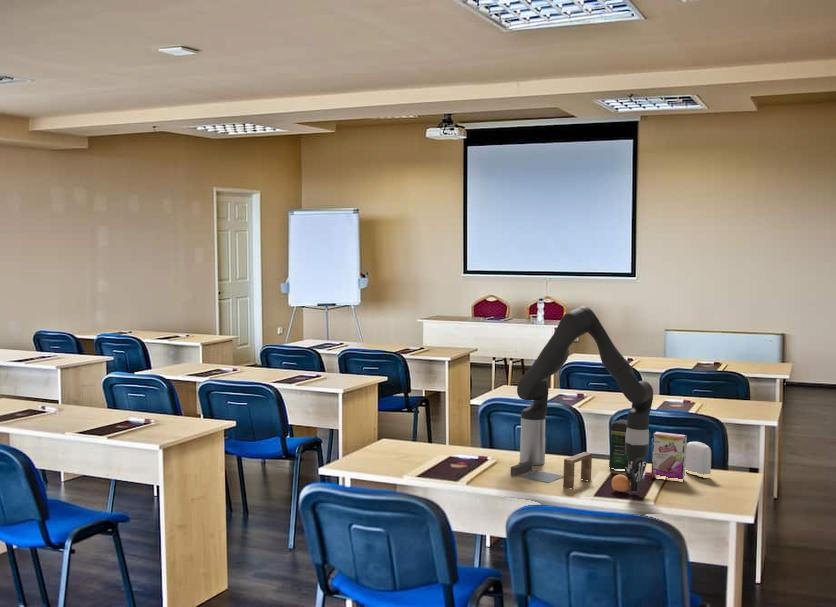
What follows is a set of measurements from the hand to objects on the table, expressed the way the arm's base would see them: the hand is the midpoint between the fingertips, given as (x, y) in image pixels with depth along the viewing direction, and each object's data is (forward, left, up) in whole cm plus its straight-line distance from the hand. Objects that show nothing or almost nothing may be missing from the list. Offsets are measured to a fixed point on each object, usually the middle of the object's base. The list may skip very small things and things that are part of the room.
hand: (634, 492), depth 287 cm
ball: (+1, -5, +2) cm, 5 cm away
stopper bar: (+1, -43, -1) cm, 43 cm away
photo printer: (-40, +7, -1) cm, 41 cm away
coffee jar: (-29, -18, -1) cm, 34 cm away
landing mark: (+1, -35, -1) cm, 35 cm away
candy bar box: (-27, +1, -1) cm, 27 cm away
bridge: (+1, -21, -1) cm, 21 cm away
